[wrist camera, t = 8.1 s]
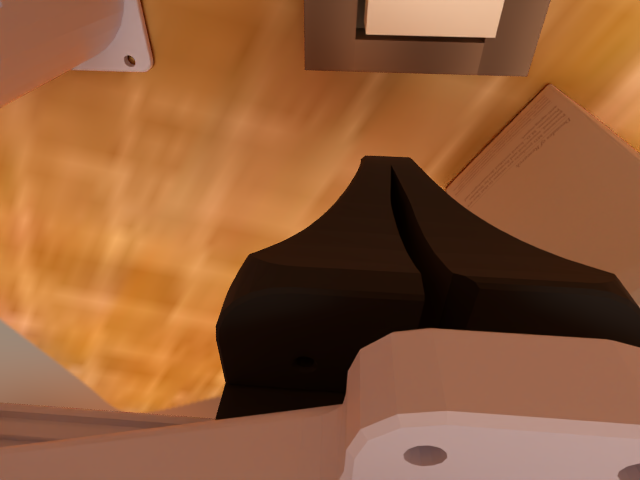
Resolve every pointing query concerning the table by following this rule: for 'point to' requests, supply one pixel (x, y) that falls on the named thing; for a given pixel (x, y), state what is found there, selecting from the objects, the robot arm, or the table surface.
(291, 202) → the table surface
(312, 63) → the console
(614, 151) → the supplement box
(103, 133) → the table surface
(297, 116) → the table surface
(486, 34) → the key ivory
